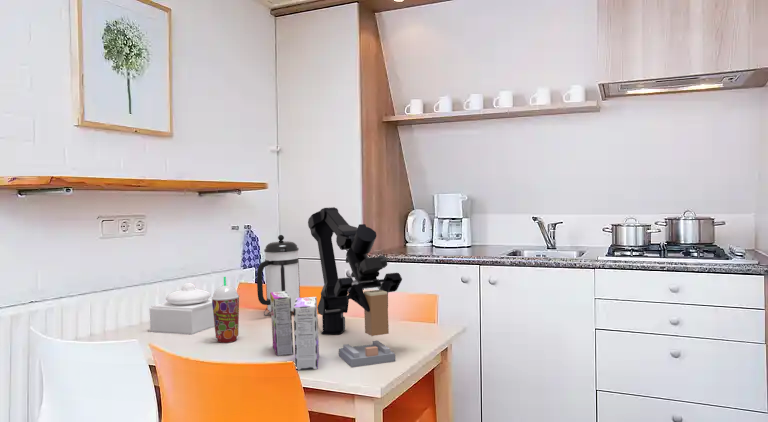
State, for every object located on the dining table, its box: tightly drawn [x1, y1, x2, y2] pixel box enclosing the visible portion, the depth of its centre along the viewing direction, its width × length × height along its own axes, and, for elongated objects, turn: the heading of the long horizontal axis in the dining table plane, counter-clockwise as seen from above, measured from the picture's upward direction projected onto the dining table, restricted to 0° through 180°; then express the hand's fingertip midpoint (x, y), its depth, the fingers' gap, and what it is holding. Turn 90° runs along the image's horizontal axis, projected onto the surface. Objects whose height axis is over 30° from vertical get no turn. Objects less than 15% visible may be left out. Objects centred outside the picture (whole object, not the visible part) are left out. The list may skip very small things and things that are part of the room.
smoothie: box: [210, 276, 240, 344], centre depth 185 cm, size 8×8×20 cm
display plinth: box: [338, 340, 396, 368], centre depth 159 cm, size 12×12×4 cm
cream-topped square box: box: [363, 289, 390, 337], centre depth 161 cm, size 4×5×11 cm
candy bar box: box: [270, 291, 294, 357], centre depth 170 cm, size 11×5×16 cm, turn 17°
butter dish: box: [149, 282, 215, 336], centre depth 206 cm, size 18×18×16 cm
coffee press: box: [256, 234, 301, 316], centre depth 222 cm, size 17×16×30 cm
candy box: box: [293, 296, 320, 371], centre depth 157 cm, size 14×6×16 cm, turn 5°
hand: (378, 309), depth 159 cm, fingers closed on cream-topped square box, 5 cm apart
